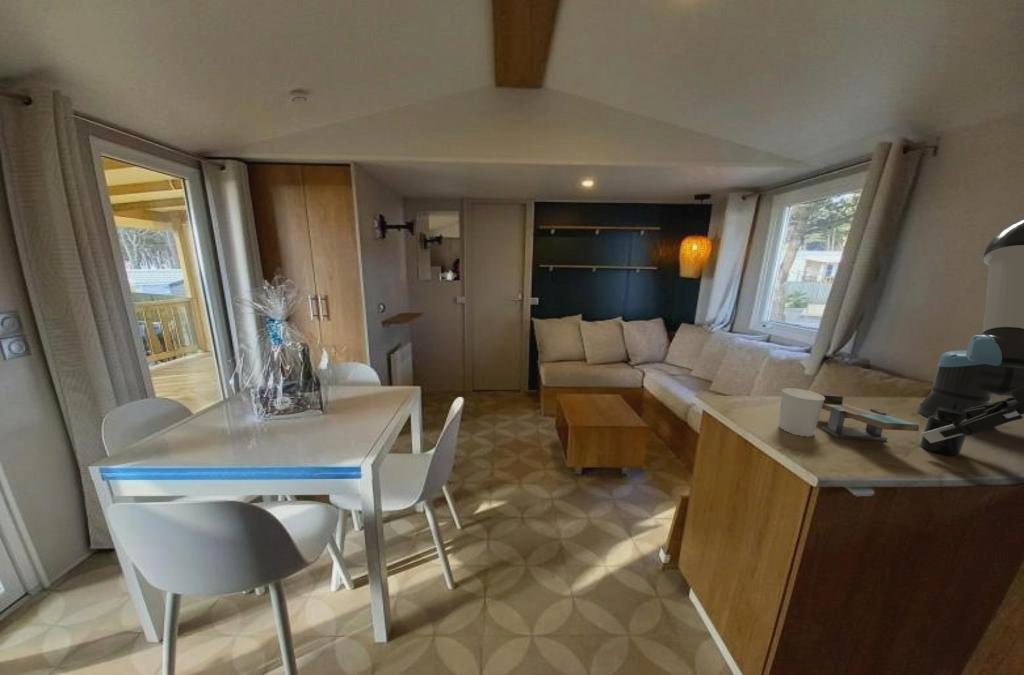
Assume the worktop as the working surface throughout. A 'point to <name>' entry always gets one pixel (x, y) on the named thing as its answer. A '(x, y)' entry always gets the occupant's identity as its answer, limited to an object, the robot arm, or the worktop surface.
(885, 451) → the worktop surface
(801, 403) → the white cylinder
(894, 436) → the worktop surface
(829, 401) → the beam
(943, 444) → the supplement bottle
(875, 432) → the stand
